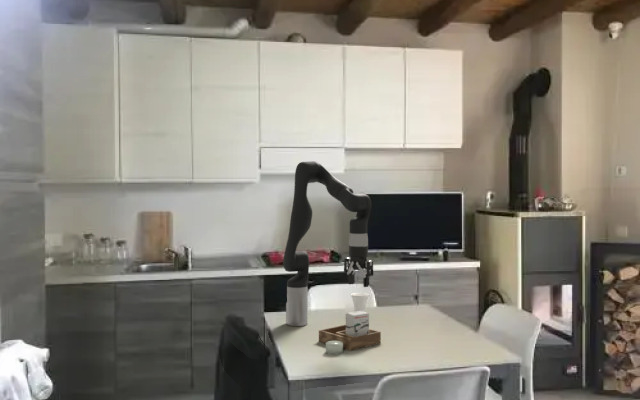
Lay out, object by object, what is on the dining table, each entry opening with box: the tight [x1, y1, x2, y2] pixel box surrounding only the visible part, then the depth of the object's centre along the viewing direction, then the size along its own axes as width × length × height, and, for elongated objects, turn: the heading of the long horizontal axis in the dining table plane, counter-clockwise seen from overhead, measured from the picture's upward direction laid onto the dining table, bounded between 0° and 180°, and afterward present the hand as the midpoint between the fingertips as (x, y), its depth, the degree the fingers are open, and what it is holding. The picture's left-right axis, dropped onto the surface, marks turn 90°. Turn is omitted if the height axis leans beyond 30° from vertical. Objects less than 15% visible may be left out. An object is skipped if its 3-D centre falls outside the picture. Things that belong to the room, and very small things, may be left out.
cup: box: [350, 292, 371, 312], centre depth 281 cm, size 9×9×10 cm
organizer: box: [318, 324, 382, 352], centre depth 230 cm, size 18×17×4 cm
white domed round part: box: [325, 341, 344, 355], centre depth 217 cm, size 6×6×4 cm
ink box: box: [345, 311, 370, 337], centre depth 228 cm, size 9×5×12 cm, turn 125°
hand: (358, 285), depth 228 cm, fingers open, 8 cm apart
